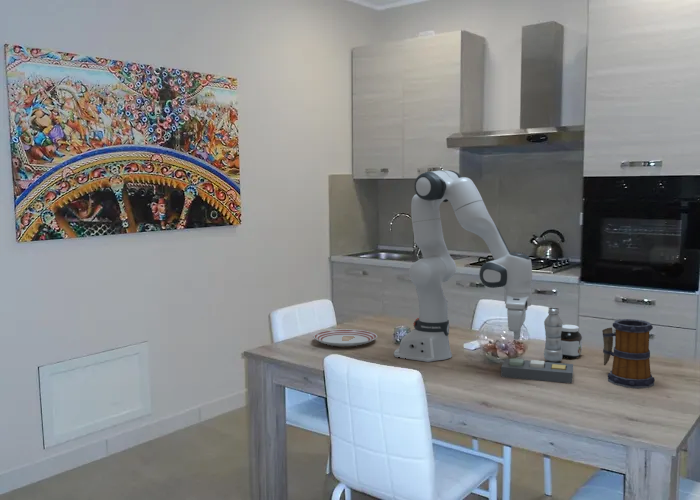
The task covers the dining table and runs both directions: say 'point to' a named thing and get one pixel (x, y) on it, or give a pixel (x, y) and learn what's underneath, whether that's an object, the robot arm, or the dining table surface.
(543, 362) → the cream key
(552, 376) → the keypad
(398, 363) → the dining table surface
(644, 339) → the mug
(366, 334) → the dinner plate
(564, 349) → the spread jar
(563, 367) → the ochre key
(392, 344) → the dining table surface
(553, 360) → the plastic bottle
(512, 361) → the sage-green key
